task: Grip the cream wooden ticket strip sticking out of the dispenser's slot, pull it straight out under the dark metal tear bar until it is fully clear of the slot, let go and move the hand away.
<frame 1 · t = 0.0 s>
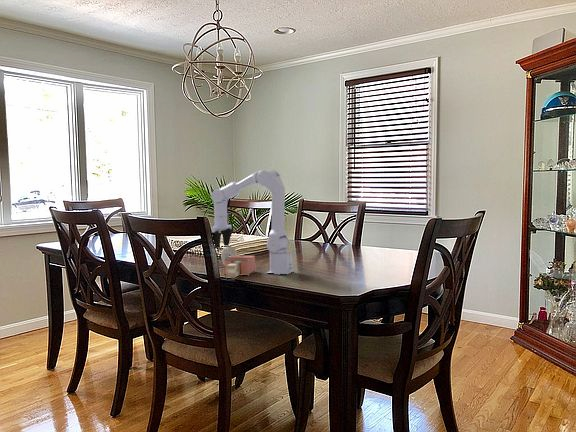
hand: (221, 246, 218), 10 cm above the table, tool pointing down, fingers open, 7 cm apart
dispenser: (239, 273, 207), on the table
ticket: (235, 276, 202), on the table
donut: (229, 268, 220), on the table
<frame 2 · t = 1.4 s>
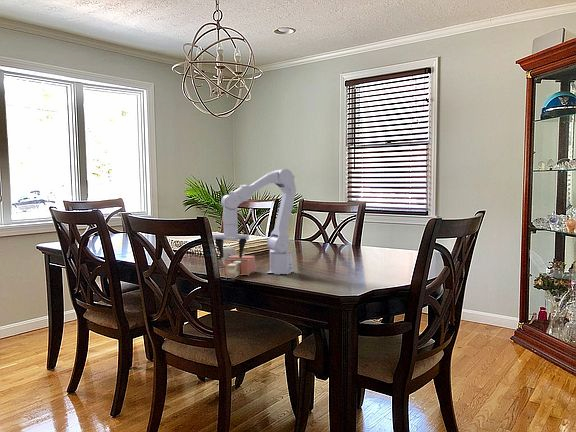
hand: (231, 257, 197), 9 cm above the table, tool pointing down, fingers open, 7 cm apart
nothing on the table moved.
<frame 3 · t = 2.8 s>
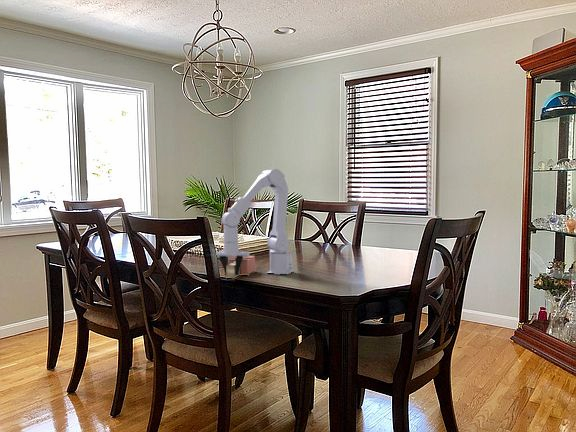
hand: (232, 274, 198), 1 cm above the table, tool pointing down, fingers closed on ticket, 4 cm apart
ticket: (235, 276, 202), on the table, touching gripper
everything else where it was.
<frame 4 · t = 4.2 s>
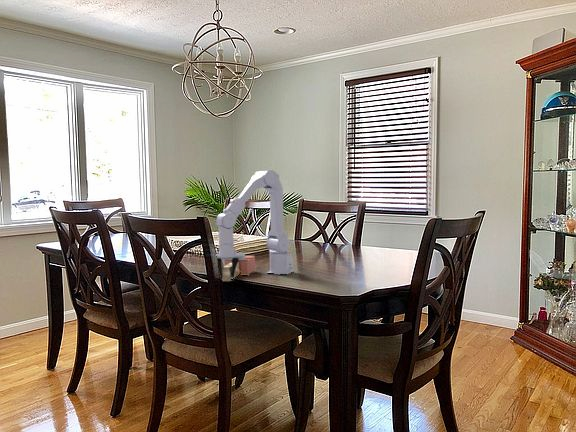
hand: (227, 277, 193), 1 cm above the table, tool pointing down, fingers closed on ticket, 4 cm apart
ticket: (231, 278, 198), on the table, touching gripper
everything else where it was.
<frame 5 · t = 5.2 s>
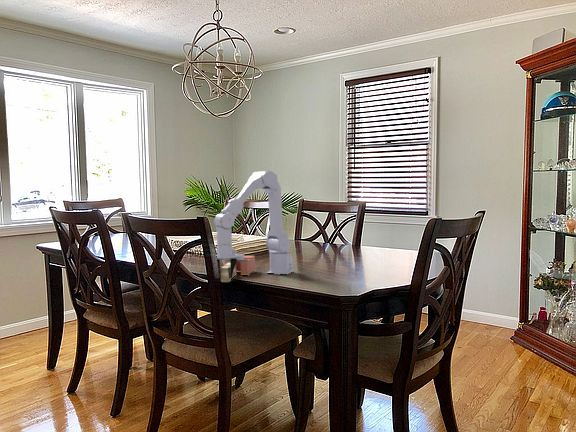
hand: (225, 278, 191), 1 cm above the table, tool pointing down, fingers closed on ticket, 4 cm apart
ticket: (228, 278, 196), on the table, touching gripper
everything else where it was.
when the fingers open (1 cm above the table, at t = 5.8 s): ticket stays where it is, on the table.
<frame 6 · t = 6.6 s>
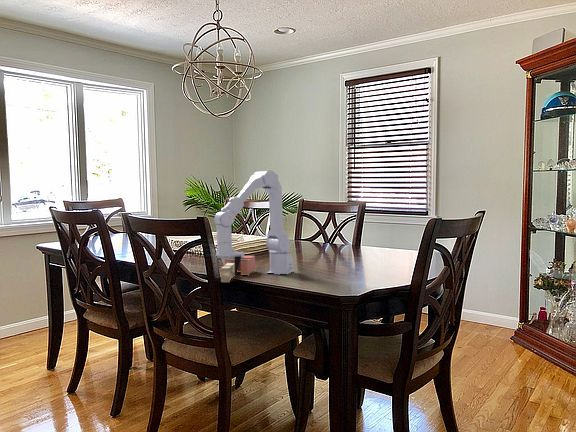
hand: (225, 276, 191), 2 cm above the table, tool pointing down, fingers open, 7 cm apart
ticket: (228, 278, 196), on the table
everything else where it was.
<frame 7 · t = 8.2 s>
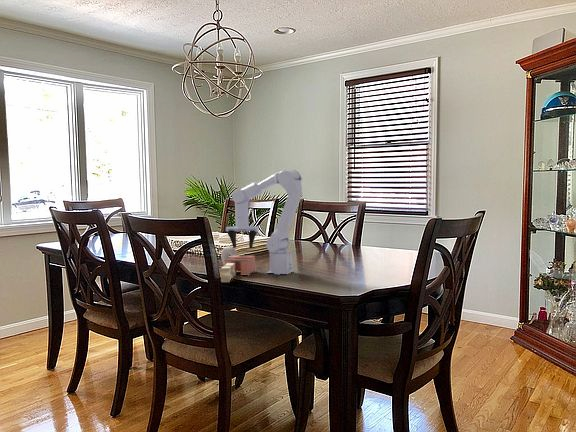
hand: (242, 247, 214), 10 cm above the table, tool pointing down, fingers open, 7 cm apart
nothing on the table moved.
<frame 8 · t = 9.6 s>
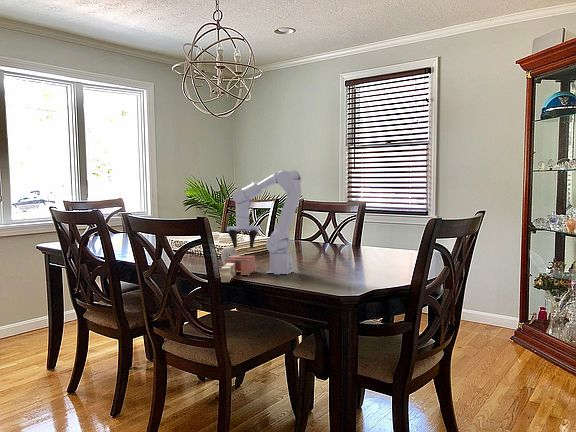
hand: (243, 247, 215), 10 cm above the table, tool pointing down, fingers open, 7 cm apart
nothing on the table moved.
at the end: ticket inside the target area on the table beside the dispenser (5.0 cm from its centre), on the table; ticket touching table; the gripper is holding nothing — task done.
